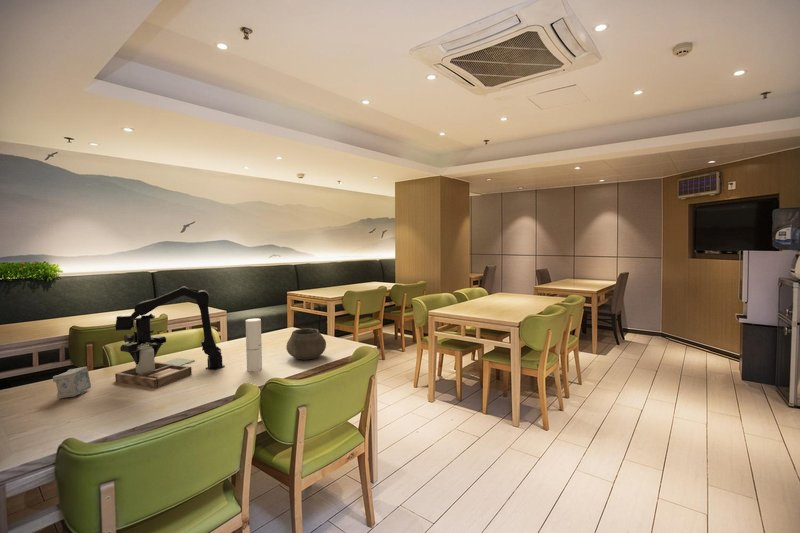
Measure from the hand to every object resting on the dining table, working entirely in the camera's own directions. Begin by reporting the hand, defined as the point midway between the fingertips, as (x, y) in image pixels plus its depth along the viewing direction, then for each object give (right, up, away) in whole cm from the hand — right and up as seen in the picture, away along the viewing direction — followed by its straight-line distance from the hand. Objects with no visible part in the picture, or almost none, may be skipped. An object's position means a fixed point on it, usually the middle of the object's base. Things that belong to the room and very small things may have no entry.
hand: (145, 361), depth 181 cm
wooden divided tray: (+6, -8, -2) cm, 10 cm away
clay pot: (+68, -6, +31) cm, 75 cm away
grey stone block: (-17, -9, -20) cm, 28 cm away
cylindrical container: (+47, -7, +12) cm, 49 cm away
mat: (+3, -6, +21) cm, 22 cm away
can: (0, -5, 0) cm, 5 cm away
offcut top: (+11, -6, -4) cm, 13 cm away
